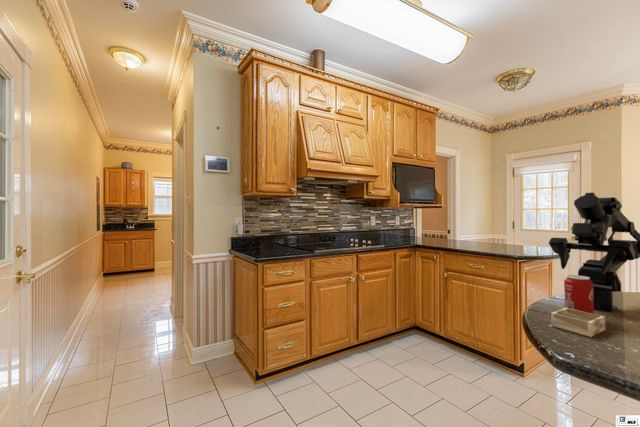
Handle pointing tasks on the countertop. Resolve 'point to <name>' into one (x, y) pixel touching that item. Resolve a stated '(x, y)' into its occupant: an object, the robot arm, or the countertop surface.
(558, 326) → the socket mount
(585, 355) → the countertop surface
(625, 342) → the countertop surface
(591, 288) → the beverage can
